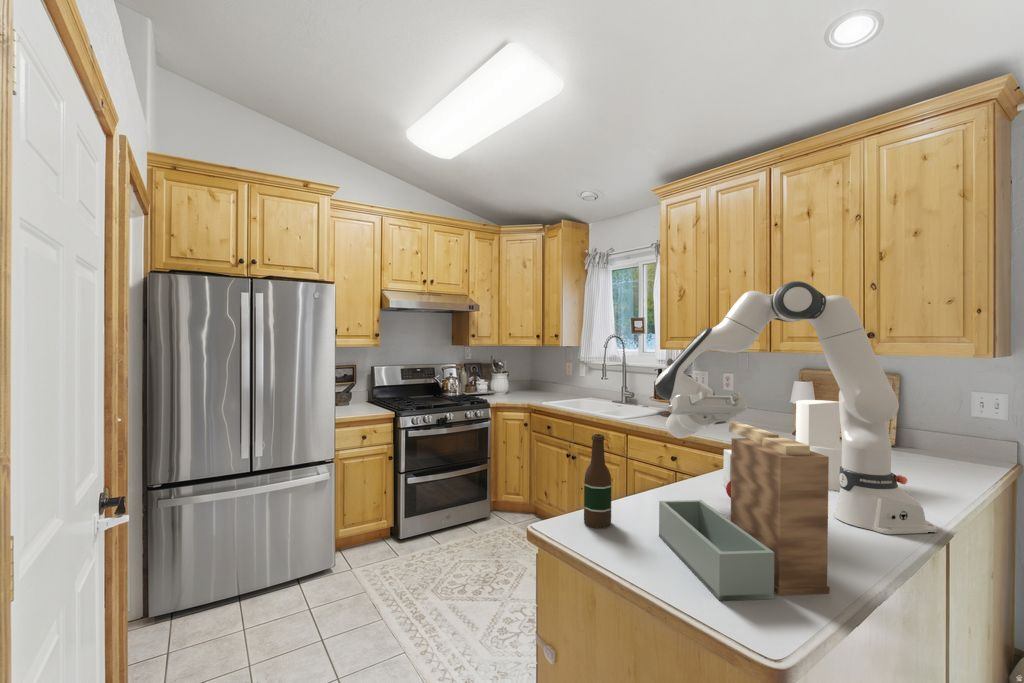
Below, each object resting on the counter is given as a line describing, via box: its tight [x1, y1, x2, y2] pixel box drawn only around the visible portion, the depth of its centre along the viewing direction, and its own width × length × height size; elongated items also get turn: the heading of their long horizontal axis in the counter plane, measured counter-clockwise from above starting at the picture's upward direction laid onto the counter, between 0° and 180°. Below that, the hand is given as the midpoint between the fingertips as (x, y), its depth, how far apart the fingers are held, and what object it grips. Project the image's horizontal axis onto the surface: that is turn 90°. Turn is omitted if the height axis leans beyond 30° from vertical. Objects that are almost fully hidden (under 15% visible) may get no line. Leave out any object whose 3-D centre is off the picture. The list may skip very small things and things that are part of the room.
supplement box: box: [722, 448, 731, 489], centre depth 160 cm, size 7×7×13 cm
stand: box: [730, 437, 831, 596], centre depth 104 cm, size 19×11×27 cm, turn 5°
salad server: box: [728, 421, 810, 455], centre depth 109 cm, size 24×5×2 cm, turn 5°
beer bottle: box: [583, 433, 612, 530], centre depth 130 cm, size 8×8×24 cm
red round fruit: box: [725, 481, 731, 499], centre depth 148 cm, size 6×6×8 cm
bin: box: [658, 499, 775, 602], centre depth 108 cm, size 30×11×9 cm, turn 5°
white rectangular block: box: [795, 399, 842, 492], centre depth 168 cm, size 17×17×28 cm
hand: (721, 395), depth 128 cm, fingers open, 8 cm apart
